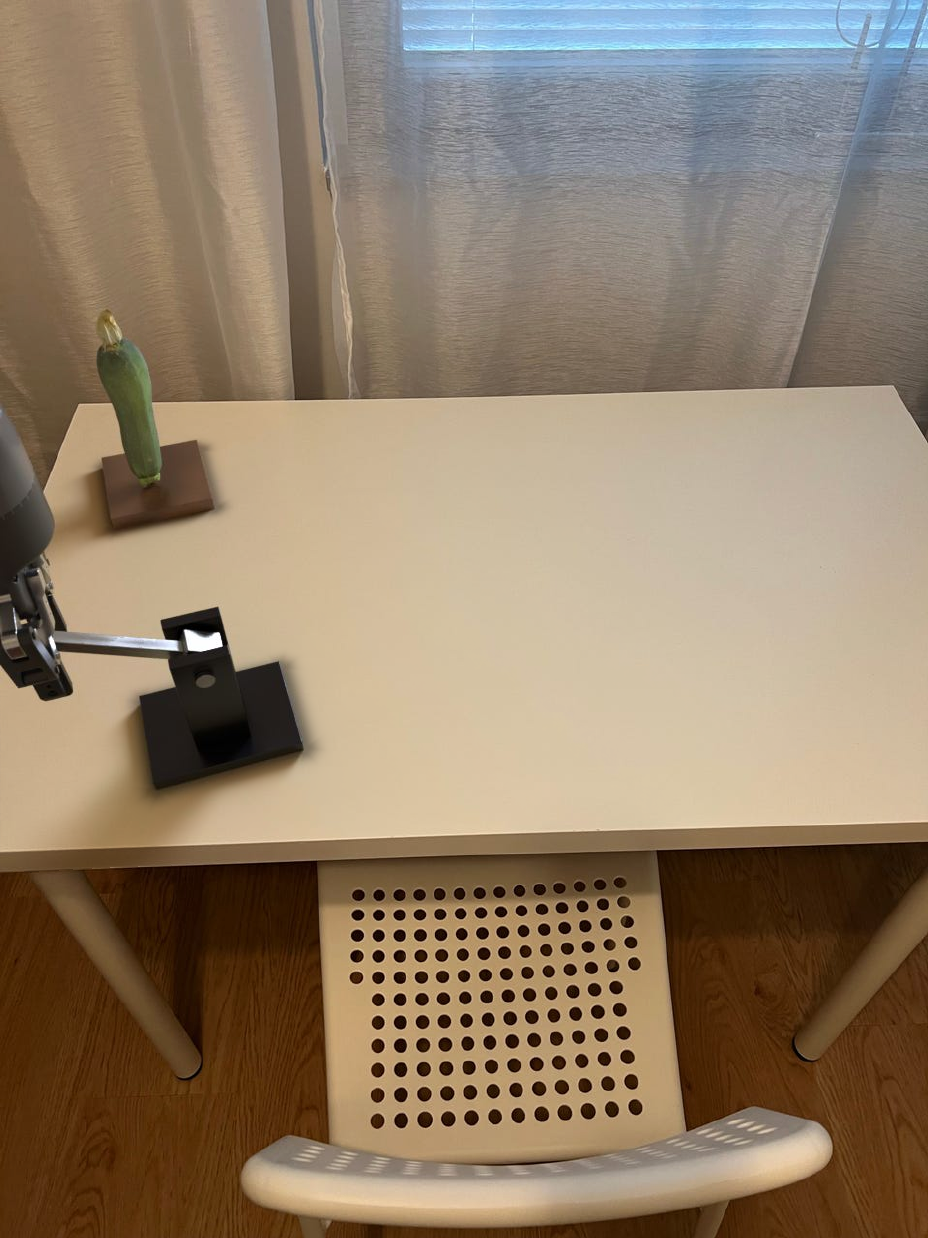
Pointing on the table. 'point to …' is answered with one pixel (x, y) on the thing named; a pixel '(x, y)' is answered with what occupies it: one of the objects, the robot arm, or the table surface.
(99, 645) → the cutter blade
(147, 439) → the vegetable
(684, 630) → the table surface
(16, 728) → the table surface
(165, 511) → the board
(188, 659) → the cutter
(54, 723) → the table surface
